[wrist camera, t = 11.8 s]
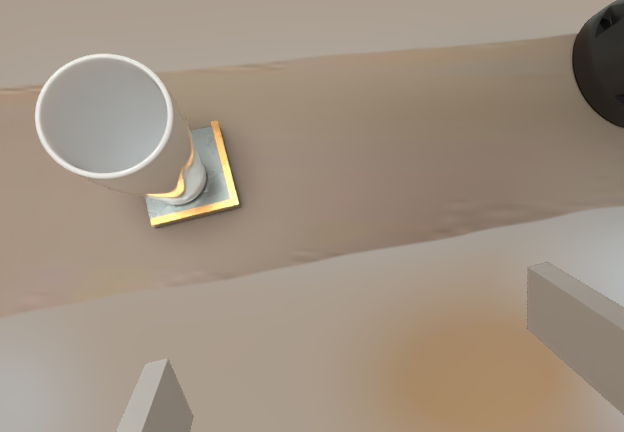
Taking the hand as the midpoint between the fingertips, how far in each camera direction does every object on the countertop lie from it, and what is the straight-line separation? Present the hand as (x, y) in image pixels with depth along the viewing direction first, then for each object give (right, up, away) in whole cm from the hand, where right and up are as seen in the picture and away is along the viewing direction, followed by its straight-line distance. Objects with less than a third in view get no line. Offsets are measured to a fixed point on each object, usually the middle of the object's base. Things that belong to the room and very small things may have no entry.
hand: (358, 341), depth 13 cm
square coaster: (-13, +8, +22) cm, 27 cm away
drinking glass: (-14, +8, +20) cm, 26 cm away
